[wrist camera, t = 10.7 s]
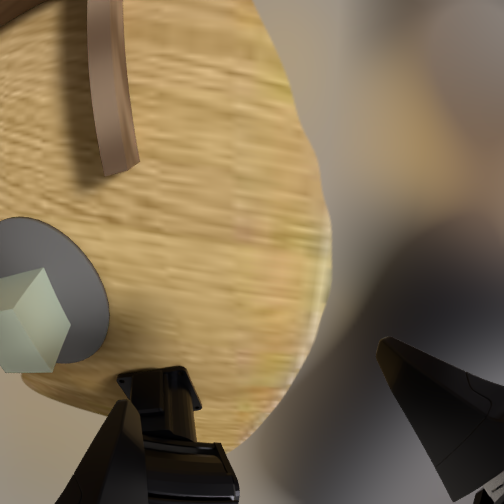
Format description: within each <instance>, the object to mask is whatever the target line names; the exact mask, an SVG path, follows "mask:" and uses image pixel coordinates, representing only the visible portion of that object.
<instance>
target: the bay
mask: <svg viewBox="0 0 504 504" xmlns="http://www.w3.org/2000/svg"><path fill="white" fill-rule="evenodd" d="M45 1H47V0H0V27H1V26H2V25H4V24H6V23H7V22H9V21H10V20H12V19H14V18H15V17H17V16H19V15H20V14H22V13H24V12H26V11H27V10H29V9H31V8H33V7H35V6H37V5H39V4H41V3H43V2H45ZM87 46H88V65H89V78H90V88H91V98H92V106H93V113H94V120H95V127H96V133H97V139H98V145H99V150H100V156H101V161H102V166H103V171H104V175H105V176H108V175H112V174H116V173H119V172H123V171H127V170H129V169H130V168H132V167H133V166H134V165H136V164H137V163H139V162H140V159H139V154H138V148H137V143H136V137H135V131H134V124H133V117H132V110H131V103H130V95H129V87H128V78H127V68H126V57H125V43H124V25H123V0H88V2H87Z"/></svg>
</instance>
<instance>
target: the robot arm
mask: <svg viewBox="0 0 504 504" xmlns="http://www.w3.org/2000/svg"><path fill="white" fill-rule="evenodd" d="M376 359H377V361H378V363H379V366H380V368H381V370H382V372H383V374H384V376H385V378H386V381H387V383H388V385H389V387H390V389H391V391H392V393H393V395H394V396H395V398H396V400H397V401H398V403H399V405H400V407H401V408H402V410H403V412H404V413H405V415H406V417H407V418H408V420H409V422H410V424H411V425H412V427H413V429H414V431H415V432H416V434H417V436H418V438H419V440H420V441H421V443H422V445H423V446H424V448H425V450H426V452H427V454H428V456H429V457H430V459H431V461H432V463H433V465H434V467H435V469H436V471H437V473H438V474H439V476H440V478H441V480H442V482H443V484H444V486H445V488H446V490H447V492H448V494H449V496H450V498H451V500H452V501H453V502H455V501H457V500H459V499H461V498H463V497H464V496H466V495H468V494H470V493H471V492H473V491H475V490H476V489H478V488H479V487H481V486H483V488H482V489H481V490H479V491H478V492H477V493H476V495H475V499H474V502H473V504H504V386H502V385H499V384H496V383H493V382H490V381H487V380H484V379H482V378H479V377H477V376H475V375H472V374H470V373H468V372H465V371H464V370H461V369H459V368H457V367H455V366H453V365H450V364H448V363H446V362H444V361H442V360H440V359H438V358H436V357H433V356H431V355H429V354H427V353H425V352H423V351H421V350H419V349H416V348H414V347H412V346H410V345H408V344H406V343H404V342H402V341H399V340H397V339H395V338H393V337H391V336H388V337H385V338H383V339H381V340H380V341H379V344H378V348H377V353H376ZM117 383H118V384H119V386H120V387H121V388H122V390H123V391H124V393H125V394H126V396H127V397H128V399H129V400H127V399H126V400H118V401H117V402H116V404H115V405H114V407H113V409H112V410H111V412H110V413H109V415H108V417H107V418H106V420H105V422H104V423H103V425H102V427H101V428H100V430H99V432H98V433H97V435H96V436H95V438H94V440H93V441H92V443H91V445H90V447H89V449H88V450H87V452H86V453H85V455H84V457H83V458H82V460H81V462H80V464H79V466H78V467H77V469H76V471H75V472H74V475H73V476H72V478H71V479H70V481H69V483H68V484H67V486H66V488H65V489H64V491H63V493H62V494H61V495H60V497H59V498H58V500H57V501H56V502H55V504H238V502H239V496H240V492H239V491H240V490H239V484H238V480H237V477H236V475H235V473H234V471H233V469H232V467H231V465H230V463H229V460H228V459H227V456H226V454H225V452H224V449H223V447H222V445H221V443H215V442H214V443H202V442H197V438H196V430H195V422H194V413H193V411H197V410H201V409H202V404H201V401H200V399H199V397H198V395H197V393H196V390H195V388H194V386H193V384H192V381H191V379H190V377H189V374H188V372H187V369H186V368H184V367H173V368H167V369H160V370H153V371H146V372H138V373H129V374H120V375H118V376H117Z"/></svg>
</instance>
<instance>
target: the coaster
mask: <svg viewBox="0 0 504 504" xmlns="http://www.w3.org/2000/svg"><path fill="white" fill-rule="evenodd" d="M43 267H44V269H45V272H46V274H47V276H48V279H49V281H50V283H51V285H52V288H53V290H54V292H55V294H56V296H57V298H58V301H59V303H60V305H61V307H62V309H63V311H64V313H65V315H66V317H67V318H68V320H69V322H70V324H71V326H70V328H69V331H68V333H67V335H66V338H65V340H64V343H63V345H62V348H61V350H60V353H59V356H58V358H57V361H56V363H74V362H78V361H82V360H84V359H86V358H88V357H90V356H91V355H93V354H94V353H95V352H96V351H97V350H98V349H99V348H100V346H101V345H102V343H103V341H104V339H105V337H106V334H107V330H108V325H109V316H110V314H109V304H108V299H107V295H106V292H105V289H104V286H103V283H102V281H101V279H100V277H99V275H98V273H97V271H96V270H95V268H94V266H93V265H92V263H91V262H90V260H89V259H88V258H87V256H86V255H85V254H84V253H83V252H82V250H81V249H80V248H79V247H78V246H77V245H76V244H75V243H74V242H73V241H72V240H71V239H70V238H69V237H67V236H66V235H65V234H63V233H62V232H61V231H59V230H58V229H56V228H54V227H53V226H51V225H49V224H47V223H45V222H42V221H40V220H37V219H33V218H29V217H11V218H8V219H4V220H2V221H0V278H4V277H8V276H11V275H15V274H19V273H23V272H27V271H31V270H35V269H39V268H43Z"/></svg>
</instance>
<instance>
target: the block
mask: <svg viewBox="0 0 504 504" xmlns="http://www.w3.org/2000/svg"><path fill="white" fill-rule="evenodd" d="M70 326H71V324H70V322H69V320H68V318H67V317H66V315H65V313H64V311H63V309H62V307H61V305H60V303H59V301H58V298H57V296H56V294H55V292H54V290H53V288H52V285H51V283H50V281H49V279H48V276H47V274H46V272H45V269H44V267H43V268H39V269H35V270H31V271H27V272H23V273H19V274H15V275H11V276H8V277H4V278H0V366H1V367H2V369H3V370H4V371H5V373H45V372H53V369H54V367H55V364H56V361H57V358H58V356H59V353H60V350H61V348H62V345H63V343H64V340H65V338H66V335H67V333H68V331H69V328H70Z"/></svg>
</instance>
